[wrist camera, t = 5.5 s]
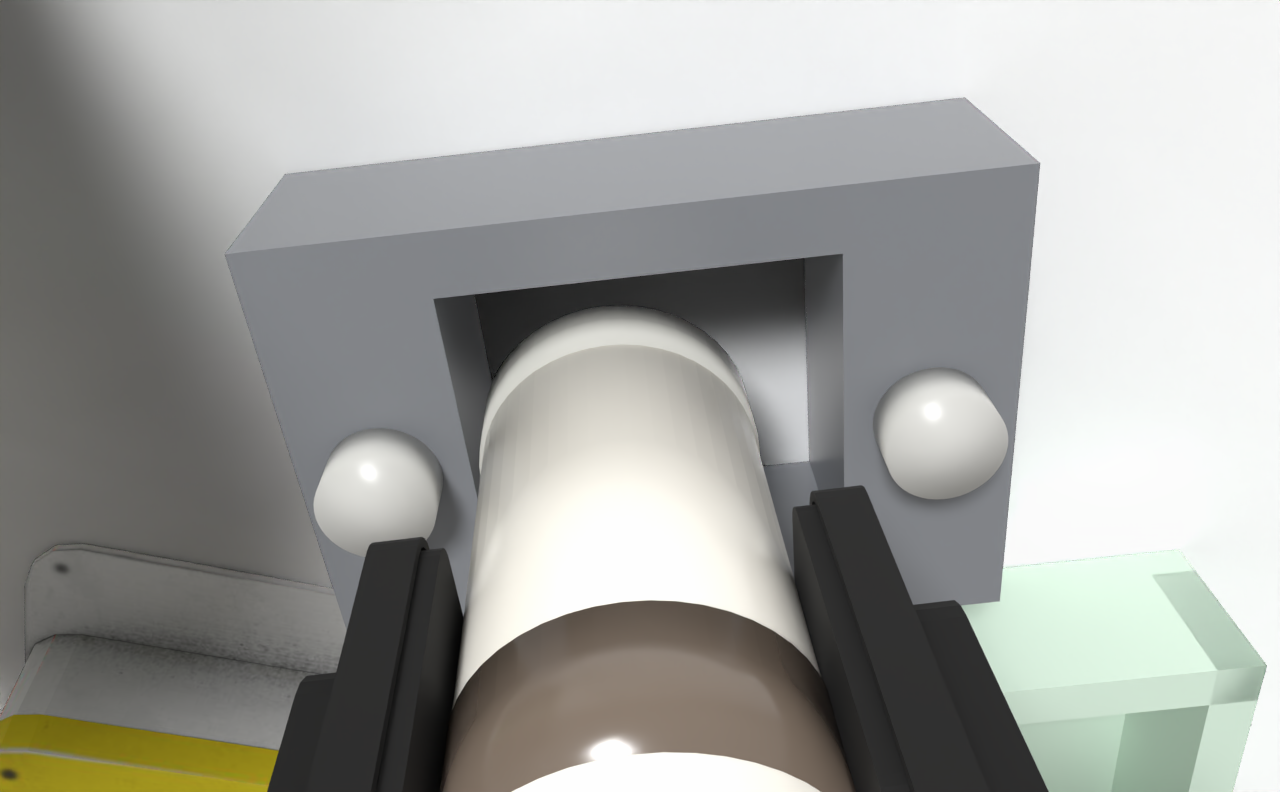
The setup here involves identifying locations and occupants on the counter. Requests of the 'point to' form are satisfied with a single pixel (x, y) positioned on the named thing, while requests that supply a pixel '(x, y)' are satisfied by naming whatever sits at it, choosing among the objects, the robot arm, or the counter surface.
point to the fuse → (631, 580)
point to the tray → (1122, 673)
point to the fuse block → (646, 245)
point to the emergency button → (158, 673)
